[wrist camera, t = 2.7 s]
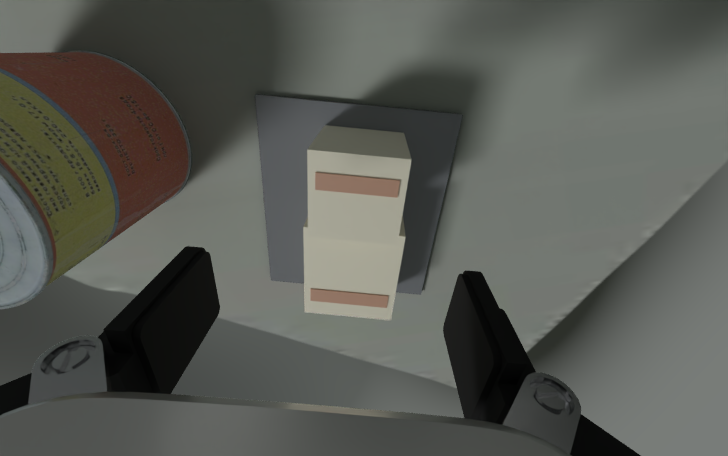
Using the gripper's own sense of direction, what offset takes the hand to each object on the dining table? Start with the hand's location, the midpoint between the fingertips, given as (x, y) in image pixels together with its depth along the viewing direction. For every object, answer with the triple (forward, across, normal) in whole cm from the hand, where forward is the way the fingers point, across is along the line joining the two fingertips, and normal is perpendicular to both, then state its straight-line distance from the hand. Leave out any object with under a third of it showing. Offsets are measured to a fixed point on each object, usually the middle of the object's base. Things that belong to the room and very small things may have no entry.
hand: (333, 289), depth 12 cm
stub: (+14, 0, -1) cm, 14 cm away
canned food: (+14, +18, -1) cm, 23 cm away
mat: (+14, 0, +3) cm, 14 cm away
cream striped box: (+14, 0, +7) cm, 15 cm away
